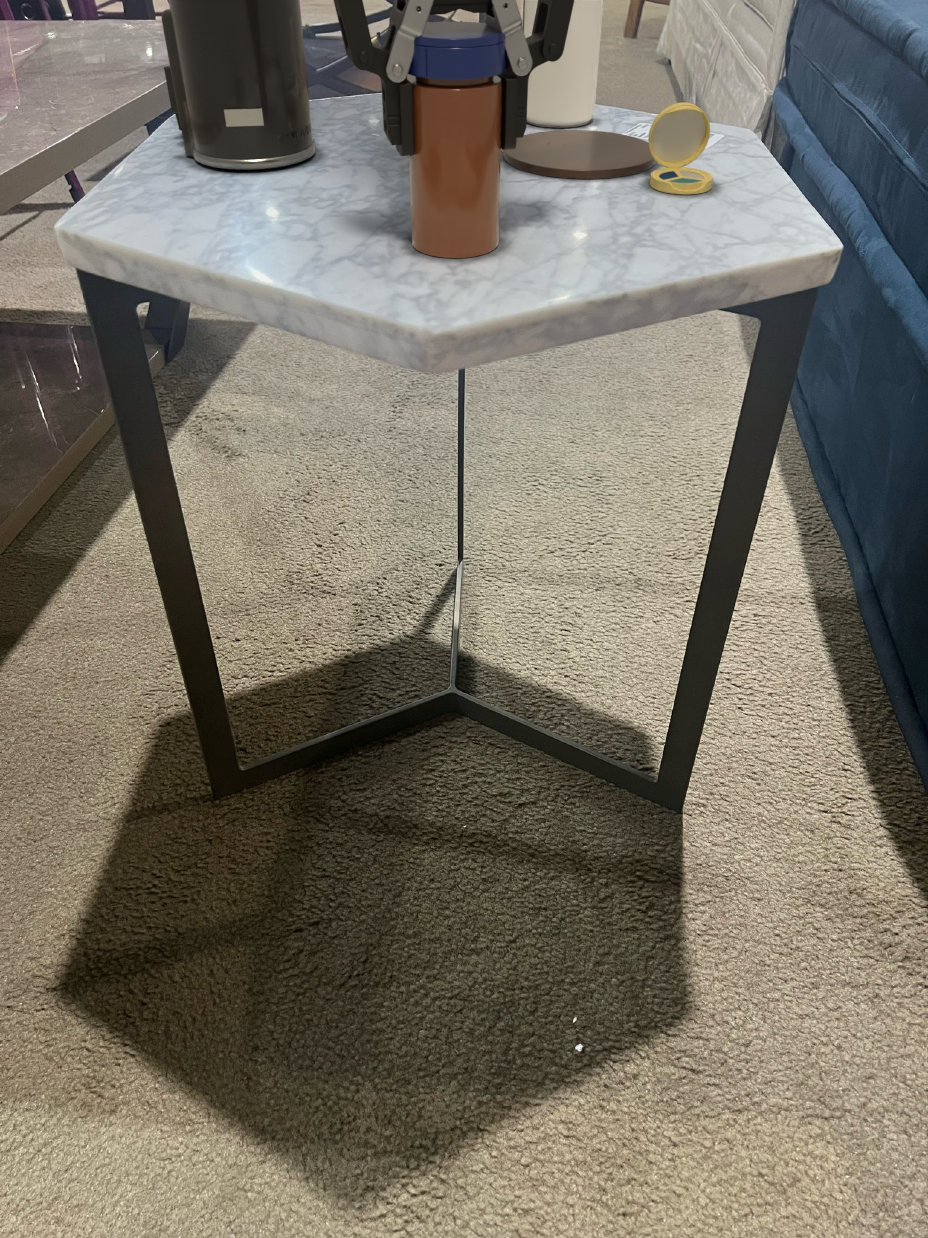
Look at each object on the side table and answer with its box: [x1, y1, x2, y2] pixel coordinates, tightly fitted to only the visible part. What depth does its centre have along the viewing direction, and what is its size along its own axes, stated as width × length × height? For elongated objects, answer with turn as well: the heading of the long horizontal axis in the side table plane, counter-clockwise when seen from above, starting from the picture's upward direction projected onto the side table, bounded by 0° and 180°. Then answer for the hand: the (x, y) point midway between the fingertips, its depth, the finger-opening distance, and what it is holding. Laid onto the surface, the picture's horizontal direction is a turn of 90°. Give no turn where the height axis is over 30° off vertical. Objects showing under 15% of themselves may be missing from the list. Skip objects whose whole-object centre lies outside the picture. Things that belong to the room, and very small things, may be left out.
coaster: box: [502, 129, 657, 180], centre depth 73 cm, size 12×12×1 cm
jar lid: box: [408, 21, 506, 80], centre depth 51 cm, size 6×6×2 cm
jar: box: [407, 75, 503, 259], centre depth 54 cm, size 5×5×11 cm
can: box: [523, 0, 604, 129], centre depth 78 cm, size 6×6×12 cm
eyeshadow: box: [647, 101, 714, 195], centre depth 66 cm, size 4×5×5 cm
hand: (456, 147), depth 54 cm, fingers closed on jar, jar lid, 5 cm apart
